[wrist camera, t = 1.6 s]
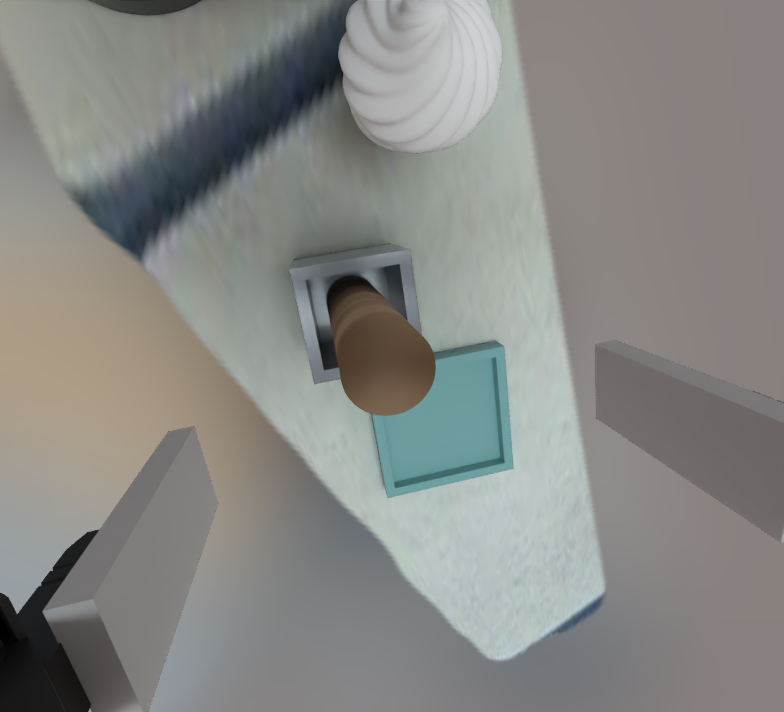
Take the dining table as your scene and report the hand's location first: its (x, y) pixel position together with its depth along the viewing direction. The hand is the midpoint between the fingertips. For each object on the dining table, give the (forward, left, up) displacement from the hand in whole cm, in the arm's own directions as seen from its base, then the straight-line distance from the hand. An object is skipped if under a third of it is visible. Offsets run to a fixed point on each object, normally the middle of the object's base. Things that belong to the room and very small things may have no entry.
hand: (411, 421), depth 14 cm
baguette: (0, 0, -22) cm, 22 cm away
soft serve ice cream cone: (-13, +5, -24) cm, 28 cm away
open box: (0, 0, -23) cm, 23 cm away
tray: (+12, +6, -23) cm, 27 cm away
